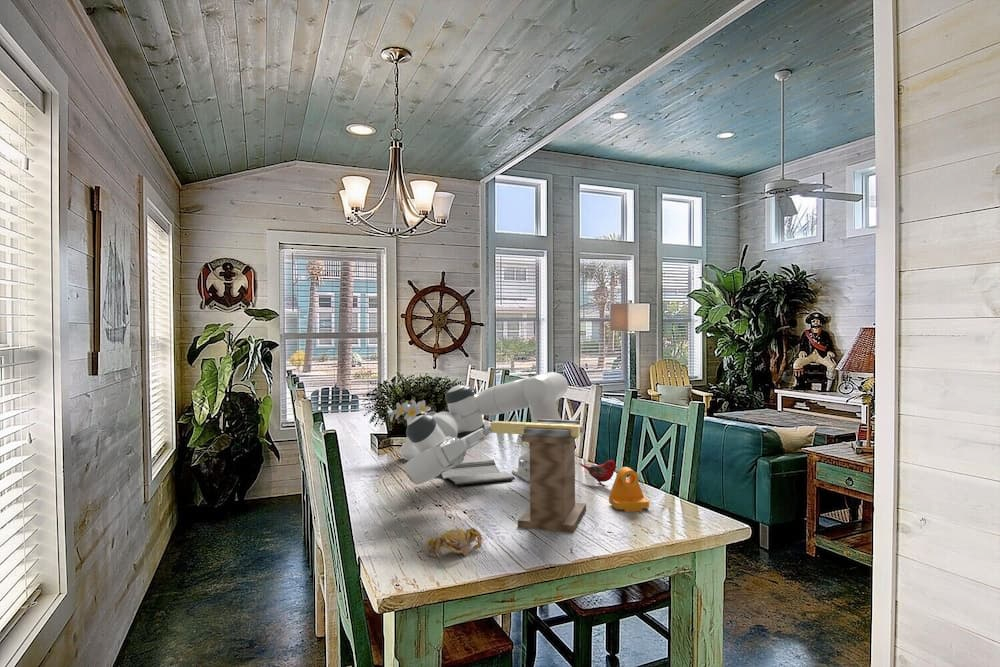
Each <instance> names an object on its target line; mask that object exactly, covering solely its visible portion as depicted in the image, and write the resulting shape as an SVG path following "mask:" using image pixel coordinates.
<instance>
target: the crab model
mask: <svg viewBox="0 0 1000 667" xmlns="http://www.w3.org/2000/svg"><path fill="white" fill-rule="evenodd" d="M476 539H477V544H475V545H474V546H472V548H473V549H479V548H480V547H482V533H480V531H478V529H476V528H475V527H470V528H468V529H466V531H464V530H463V529H460V528H457V529H450V530H447V531H445V532H443V533H442V534H441V535H440V536H437V537H435V538H429V539H426V543H425V544H426V546H428V548H429V549H430V551H431V553H433V554H434V555H436V556H437V554H438V555H439V556H440V557H444V554H443V553H442V551H440V550H441V547H443V546H444V548H446V549H447V550H449V551H450V552H452V553H455V554H462V555H463V557H467V556H469V555H470V554H469V553H470V552H471V548H470V547H469V544H471V543H472V542H474V541H475V540H476ZM457 547H458V548H457ZM456 548H457V550H456ZM434 549H435V550H434Z"/></svg>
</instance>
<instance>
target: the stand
mask: <svg viewBox="0 0 1000 667" xmlns="http://www.w3.org/2000/svg"><path fill="white" fill-rule="evenodd" d="M534 423H552V424H574V425H580V434H581V433H582V432H583V427H582V426H581V421H580V420H575V419H561V420H554V419H538V422H534ZM577 438H578V437H570V430H559V429H538V428H524V434H521V442H526V443H528V442H530V443H529V445H530V481H529V506H528V508H527V509H526V510H525V511H524V513H523V514H522V515H520V517H519V519H518V520H517V528H523V529H533V530H543V531H550V532H551V531H552V532H563V533H572V534H573V533H575V532H576V528H577V527H578V525H579V523H581V520H582V519H583V517H584V514H585V512H586V511H587V503H586V502H576V471H575V470H576V467H575V466H576V465H575V464H576V463H575V461H576V457H575V455H576V451H575V450H576V449H575V448H576V445H575V443H576V442H575V440H576V439H577Z"/></svg>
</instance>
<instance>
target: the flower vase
mask: <svg viewBox="0 0 1000 667" xmlns="http://www.w3.org/2000/svg"><path fill="white" fill-rule="evenodd" d="M410 401H411V404H410V403H408V400H406V401H405V402H403V403H402V404H400V402H397V403H395V404H396V409H394V410H393V409H392V408H391V407H390V406H389V405H388V404H387V405H386V406H387V409H388V410H387V414H388V416H389V421H390V423H392V422H393V419H395V420H397V419H398V418H400V416H401V415H404V416H403V419H404V420H406V425H407V426H408V424H409V423H410V422H411V421H412V420H413V419H414V418H416V417H417V415H419V414H421V415H424V414H427V413H428V412H430V411H431V409H432V408H431V406H428V405H426V400H424V399H423V400H421V401H418V402H416V400H414V399H411V400H410ZM394 417H395V418H394ZM407 426H406V427H407ZM399 452H400V455H401V456H402V457H403V459H404V460H405V461H409V460H410V459H412V458H413V457H414V456H416V455H417V454H419V453H420V452H419V451H418V450H417V448H416V447H415V445H414V444H413V442H411V440H410V439H409V438H408V437H407V436H406V439H405V441H404V444H402V446H401V447H400V450H399Z"/></svg>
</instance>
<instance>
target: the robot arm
mask: <svg viewBox="0 0 1000 667" xmlns="http://www.w3.org/2000/svg"><path fill="white" fill-rule="evenodd" d="M567 380H568V379H567V378H566V377H565V376H564V375H563V374H561V373H559V372H555V371H548V372H545V373H540V374H535V375H533V376H529V377H525V378H520V379H517V380H512V381H509V382H505V383H500V384H496V385H494V386H491V387H487V388H485V389H483V390H481V391H477V389H475V388H472V386H469V385H466V384H458V385H457V384H456V385H455V386H452V387H450V388H449V389H448V390H447V391H446V392H445V395H444V396H445V403H446V404H447V408H448V411H439V412H436V411H433V410H432V411H431V410H430V411H427V412H428V413H427V414H424V413H423V414H420V415H417V416H416V418H414V419H413V420H412V421H411V422H410V423H409V424H408V426H406V429H405V435H406V438H407V437H408V438H409V439H410V440H411V442H413V444H414V445H415V447H416V448H417V450H418V451H419V452H420V453H419V454H417V455H416V456H414V457H413V458H412V459H410V460H407V462H405V464H404V471H405V474H406V476H407V477H408V478H409V480H410V482H411V483H413V484H414V485H420V484H423V483H426V482H428V481H431V480H432V479H435V478H436V477H438V476H441V473H443V472H445V471H446V470H449V469H451V468H453V467H455V466H457V465H458V464H460V463H462V462H463V461H465V460H464V459H465V456H466V454H467V451H468V450H469V449H471V448H473V447H475V446H476V445H478V444H480V443H481V442H484V441H485V440H487V439H488V435H490V434H492V433H491V425H490V426H488V427H486V426H485V423H484V420H483V417H482V415H483V416H495V415H501V414H507V413H511V412H514V411H519V410H524V409H527V408H529V413H530V419H531V423H534V422H538V419H554V420H562V418H561V415H560V413H559V411H558V410H559V409H558V406H557V401H559V400H560V399H562V397H563V396H565V394H566V393H567V392H568V386H569V383H568V381H567ZM527 444H529V446H528V449H527V450H526V451H525V452H523V454H522V455H520V456H519V458H518V464H517V467H516V468H513V469H512V470H511V473H512V474H514V475H515V476H517V477H519V478H520V479H522V480H524V482H525V481H526V482H530V442H527Z"/></svg>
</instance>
